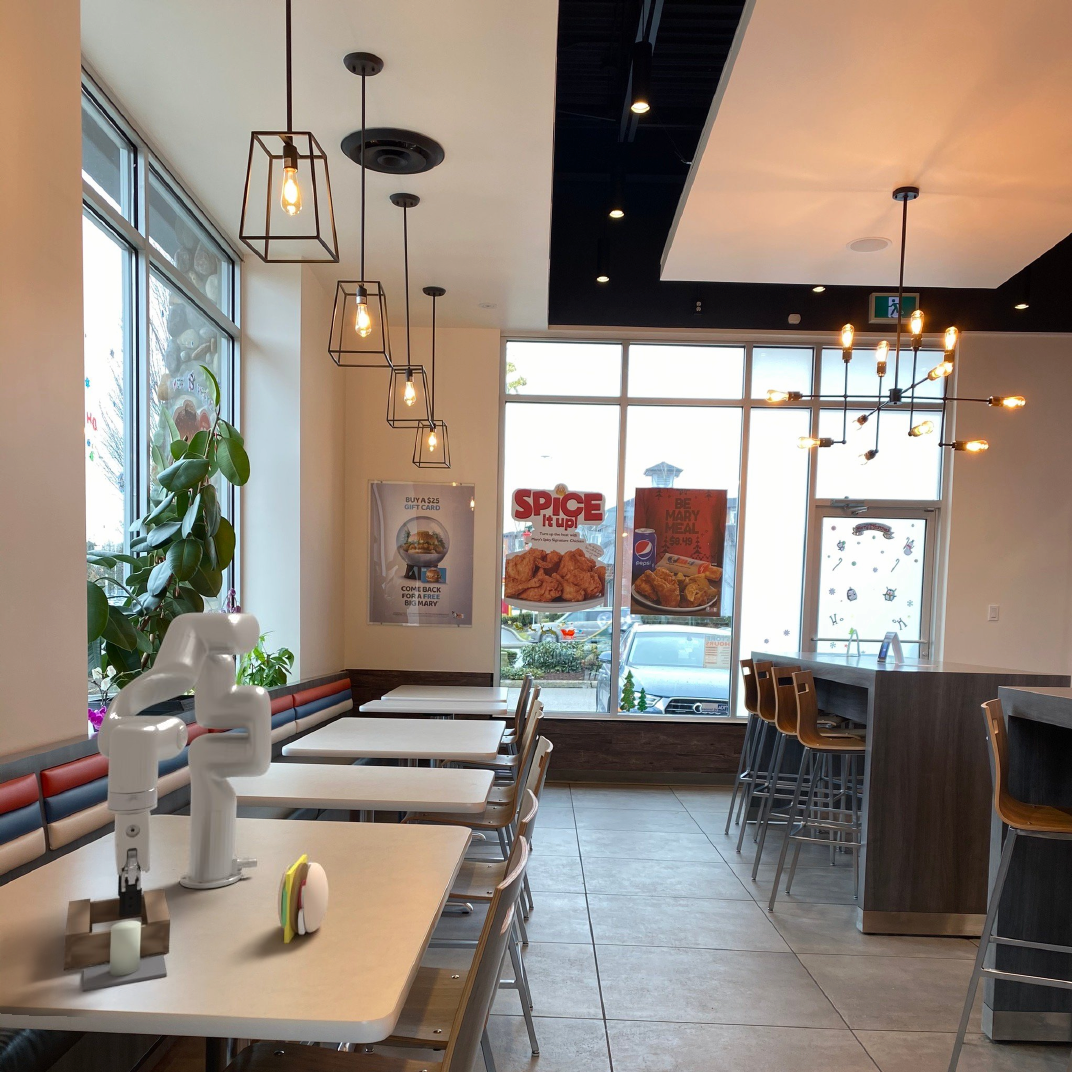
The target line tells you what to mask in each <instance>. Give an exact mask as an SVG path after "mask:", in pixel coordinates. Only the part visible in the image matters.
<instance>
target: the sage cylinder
mask: <svg viewBox="0 0 1072 1072" xmlns="http://www.w3.org/2000/svg"><path fill="white" fill-rule="evenodd" d="M140 935H141V923H140V922H138V921H126V922H121V923H118V924H115V925H113V926H112V927H111V947H110V963H109V964H110V974H111V975H114V976H122V975H128V974H131V973H134V972H136V971H137V970H138V969H139V966H140V959H141V957H140Z"/></svg>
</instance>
